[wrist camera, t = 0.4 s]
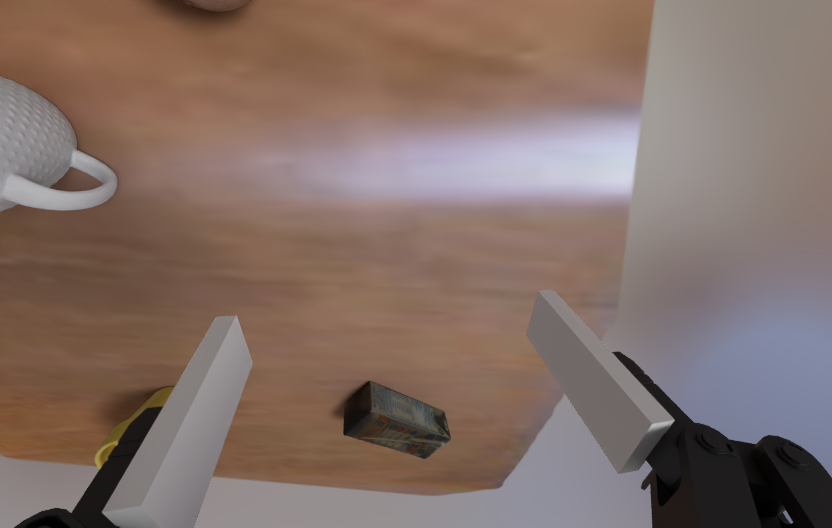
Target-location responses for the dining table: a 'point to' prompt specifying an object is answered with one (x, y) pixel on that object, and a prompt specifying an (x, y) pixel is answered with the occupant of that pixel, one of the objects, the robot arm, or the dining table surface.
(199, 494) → the robot arm
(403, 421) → the beverage carton
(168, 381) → the dining table surface
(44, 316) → the dining table surface
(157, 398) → the plant pot
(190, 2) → the onion
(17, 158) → the mug
